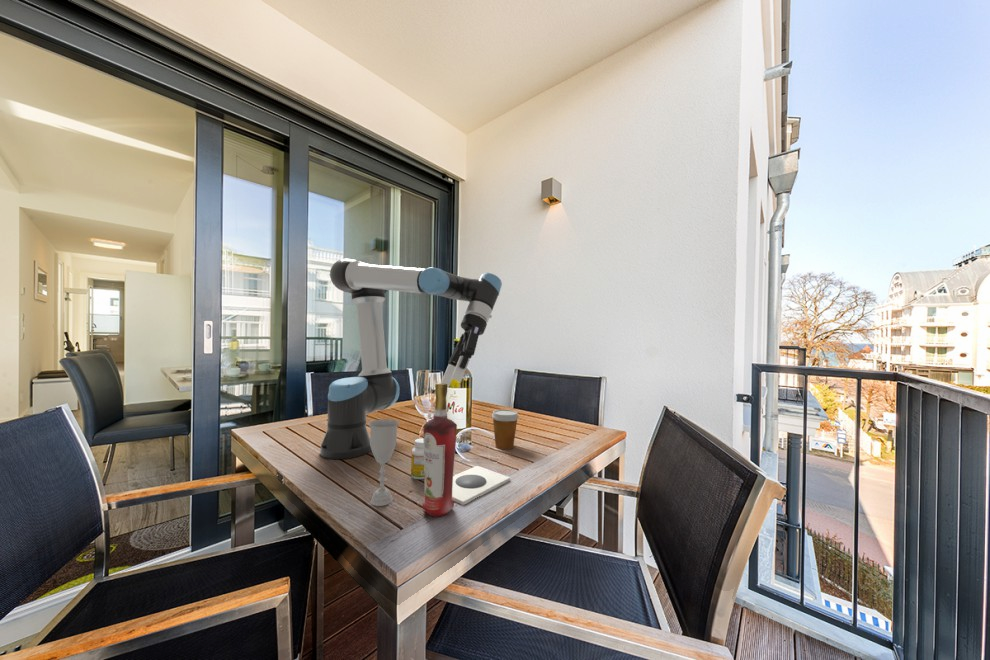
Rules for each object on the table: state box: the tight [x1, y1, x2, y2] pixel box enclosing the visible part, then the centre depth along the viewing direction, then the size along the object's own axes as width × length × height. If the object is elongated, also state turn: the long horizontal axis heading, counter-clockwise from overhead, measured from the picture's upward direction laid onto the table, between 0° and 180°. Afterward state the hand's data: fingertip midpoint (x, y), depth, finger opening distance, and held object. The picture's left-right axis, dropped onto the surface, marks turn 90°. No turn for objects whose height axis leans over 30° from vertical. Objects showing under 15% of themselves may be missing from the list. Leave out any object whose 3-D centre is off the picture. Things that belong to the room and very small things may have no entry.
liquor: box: [422, 382, 458, 518], centre depth 75 cm, size 7×7×28 cm
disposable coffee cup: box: [491, 409, 520, 450], centre depth 120 cm, size 10×10×12 cm
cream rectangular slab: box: [452, 465, 511, 506], centre depth 89 cm, size 18×12×1 cm, turn 141°
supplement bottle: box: [410, 437, 425, 480], centre depth 94 cm, size 5×5×10 cm
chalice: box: [368, 418, 400, 507], centre depth 79 cm, size 7×7×18 cm
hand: (450, 382), depth 97 cm, fingers open, 13 cm apart
